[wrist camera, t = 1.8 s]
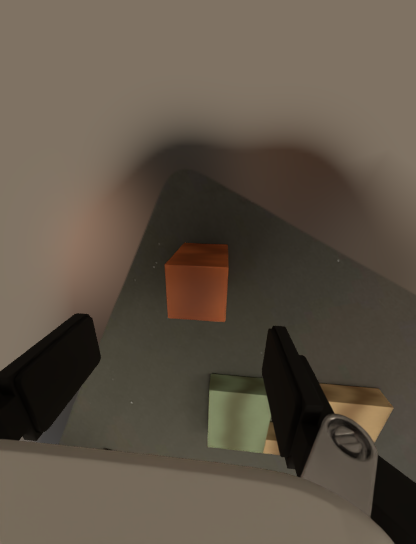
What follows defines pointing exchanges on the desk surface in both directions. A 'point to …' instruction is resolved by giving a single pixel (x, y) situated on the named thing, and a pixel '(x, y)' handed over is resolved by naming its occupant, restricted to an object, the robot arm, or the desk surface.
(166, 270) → the reddish brown rectangular block
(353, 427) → the robot arm
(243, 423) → the green and tan board
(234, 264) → the desk surface
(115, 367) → the desk surface
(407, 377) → the desk surface
